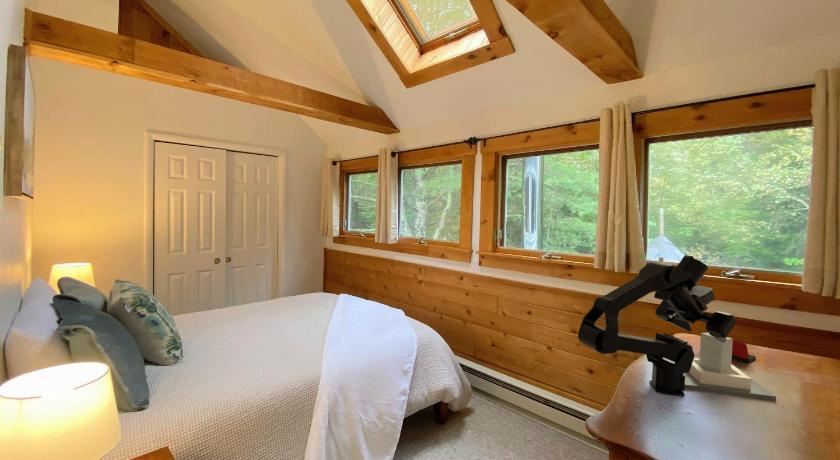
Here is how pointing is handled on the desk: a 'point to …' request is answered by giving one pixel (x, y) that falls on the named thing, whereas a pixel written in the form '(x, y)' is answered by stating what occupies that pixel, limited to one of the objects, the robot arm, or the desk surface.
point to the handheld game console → (741, 352)
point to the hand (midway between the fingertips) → (706, 335)
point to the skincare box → (715, 354)
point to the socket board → (725, 383)
